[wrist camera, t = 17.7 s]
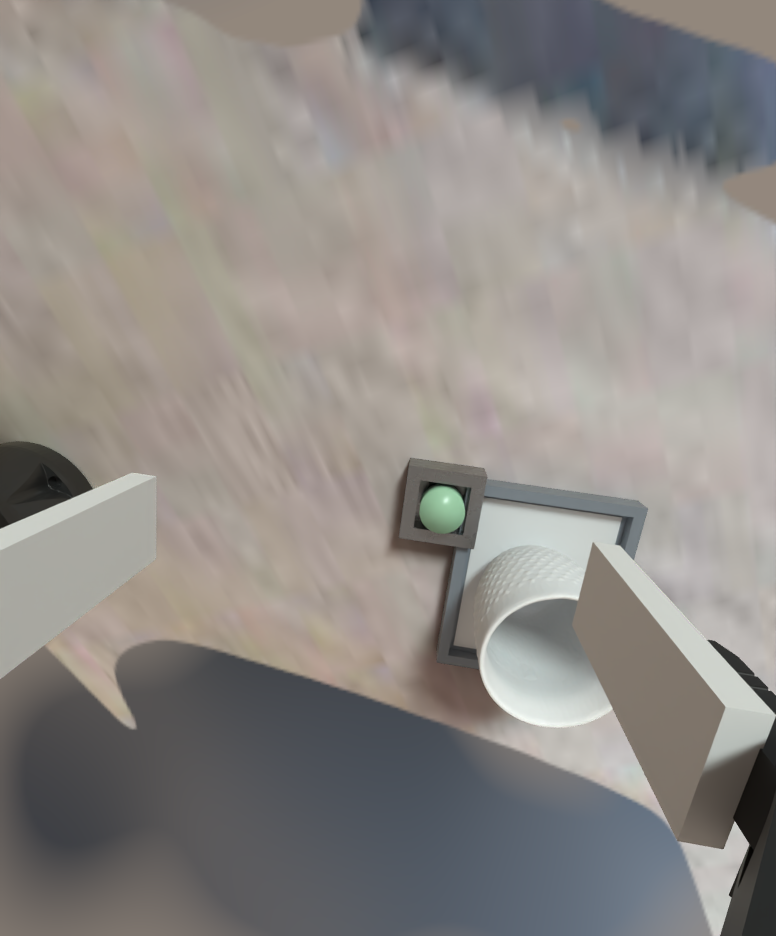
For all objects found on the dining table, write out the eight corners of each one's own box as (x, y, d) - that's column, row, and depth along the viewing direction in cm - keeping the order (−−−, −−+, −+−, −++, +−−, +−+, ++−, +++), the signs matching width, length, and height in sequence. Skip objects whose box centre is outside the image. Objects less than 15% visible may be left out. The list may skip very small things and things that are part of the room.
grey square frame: (400, 526, 48) (398, 537, 45) (410, 457, 46) (408, 465, 43) (471, 536, 48) (474, 549, 45) (484, 468, 46) (487, 476, 43)
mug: (635, 606, 47) (709, 703, 34) (547, 674, 49) (586, 787, 37) (527, 502, 45) (563, 563, 33) (442, 577, 48) (446, 661, 35)
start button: (417, 521, 46) (416, 530, 44) (423, 480, 45) (422, 487, 42) (459, 527, 46) (461, 536, 43) (466, 486, 44) (468, 494, 42)
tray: (436, 649, 51) (436, 662, 49) (466, 476, 46) (467, 482, 44) (590, 674, 50) (597, 689, 48) (637, 500, 45) (647, 508, 43)
